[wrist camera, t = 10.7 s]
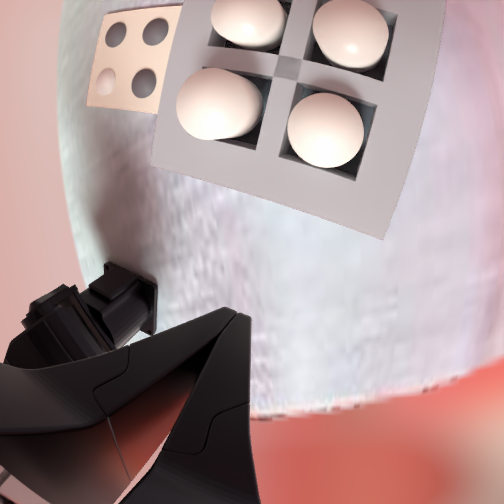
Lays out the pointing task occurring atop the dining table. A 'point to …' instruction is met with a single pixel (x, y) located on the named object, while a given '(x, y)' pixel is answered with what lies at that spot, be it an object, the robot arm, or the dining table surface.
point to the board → (289, 95)
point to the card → (132, 59)
